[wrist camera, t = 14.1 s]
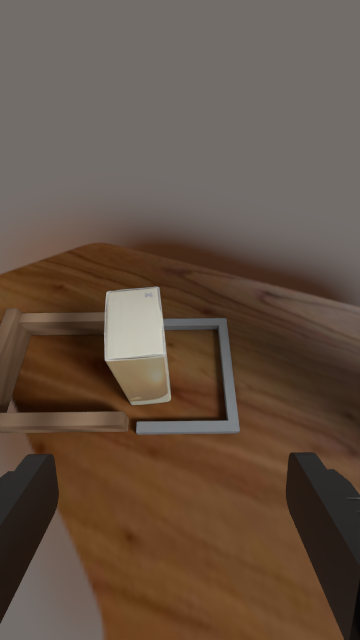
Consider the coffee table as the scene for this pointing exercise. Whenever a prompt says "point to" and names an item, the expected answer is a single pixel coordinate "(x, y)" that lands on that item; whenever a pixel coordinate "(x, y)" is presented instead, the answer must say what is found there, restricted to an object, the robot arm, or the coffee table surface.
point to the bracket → (228, 385)
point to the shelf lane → (6, 360)
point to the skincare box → (137, 344)
